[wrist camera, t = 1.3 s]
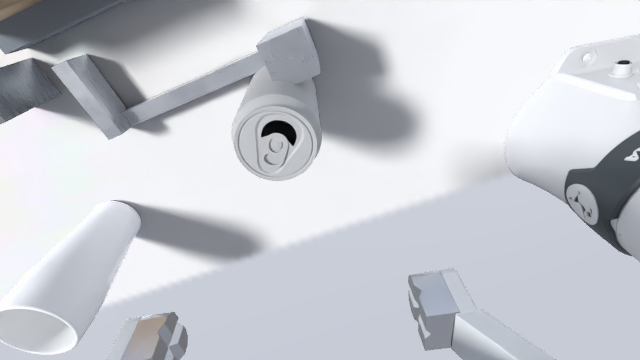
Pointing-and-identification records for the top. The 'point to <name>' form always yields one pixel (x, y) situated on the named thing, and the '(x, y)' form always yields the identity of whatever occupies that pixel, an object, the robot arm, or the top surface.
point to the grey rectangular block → (114, 118)
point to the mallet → (23, 88)
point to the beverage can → (277, 127)
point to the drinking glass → (69, 283)
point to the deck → (47, 21)
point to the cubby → (14, 7)
